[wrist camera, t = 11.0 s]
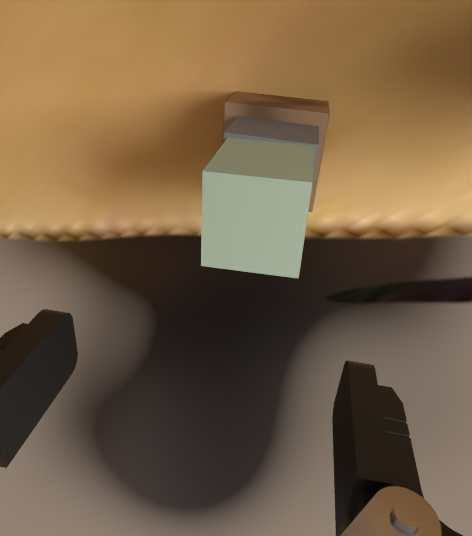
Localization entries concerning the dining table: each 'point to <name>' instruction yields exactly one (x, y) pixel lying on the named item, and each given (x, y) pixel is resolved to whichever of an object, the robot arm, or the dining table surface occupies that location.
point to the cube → (274, 132)
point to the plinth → (281, 117)
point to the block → (256, 206)
